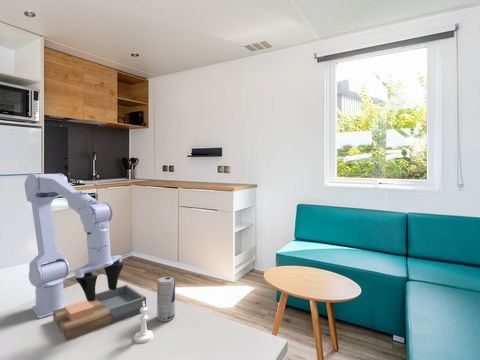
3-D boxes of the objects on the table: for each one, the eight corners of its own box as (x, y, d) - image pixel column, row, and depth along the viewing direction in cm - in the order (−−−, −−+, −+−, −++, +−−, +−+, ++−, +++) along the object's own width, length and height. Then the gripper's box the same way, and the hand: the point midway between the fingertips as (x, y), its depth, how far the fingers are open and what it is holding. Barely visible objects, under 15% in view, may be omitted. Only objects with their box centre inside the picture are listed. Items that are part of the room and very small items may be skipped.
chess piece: (135, 345, 74) (135, 307, 74) (133, 335, 78) (132, 299, 78) (154, 340, 76) (154, 303, 76) (151, 330, 81) (151, 296, 80)
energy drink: (177, 313, 90) (177, 276, 90) (171, 322, 85) (171, 283, 85) (161, 312, 91) (161, 275, 90) (154, 321, 86) (154, 282, 85)
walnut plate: (53, 320, 85) (53, 311, 85) (95, 307, 94) (95, 298, 94) (67, 340, 75) (67, 329, 75) (113, 323, 84) (113, 313, 84)
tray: (94, 307, 93) (94, 294, 93) (126, 296, 101) (126, 284, 101) (111, 324, 84) (111, 309, 84) (146, 310, 92) (146, 297, 92)
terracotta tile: (64, 313, 84) (64, 306, 84) (86, 306, 88) (86, 300, 88) (71, 321, 80) (70, 314, 79) (93, 313, 84) (93, 306, 84)
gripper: (88, 253, 71) (91, 307, 71) (128, 240, 85) (131, 285, 85) (67, 253, 74) (71, 305, 74) (110, 240, 87) (113, 284, 87)
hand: (102, 294), depth 80 cm, fingers open, 7 cm apart
